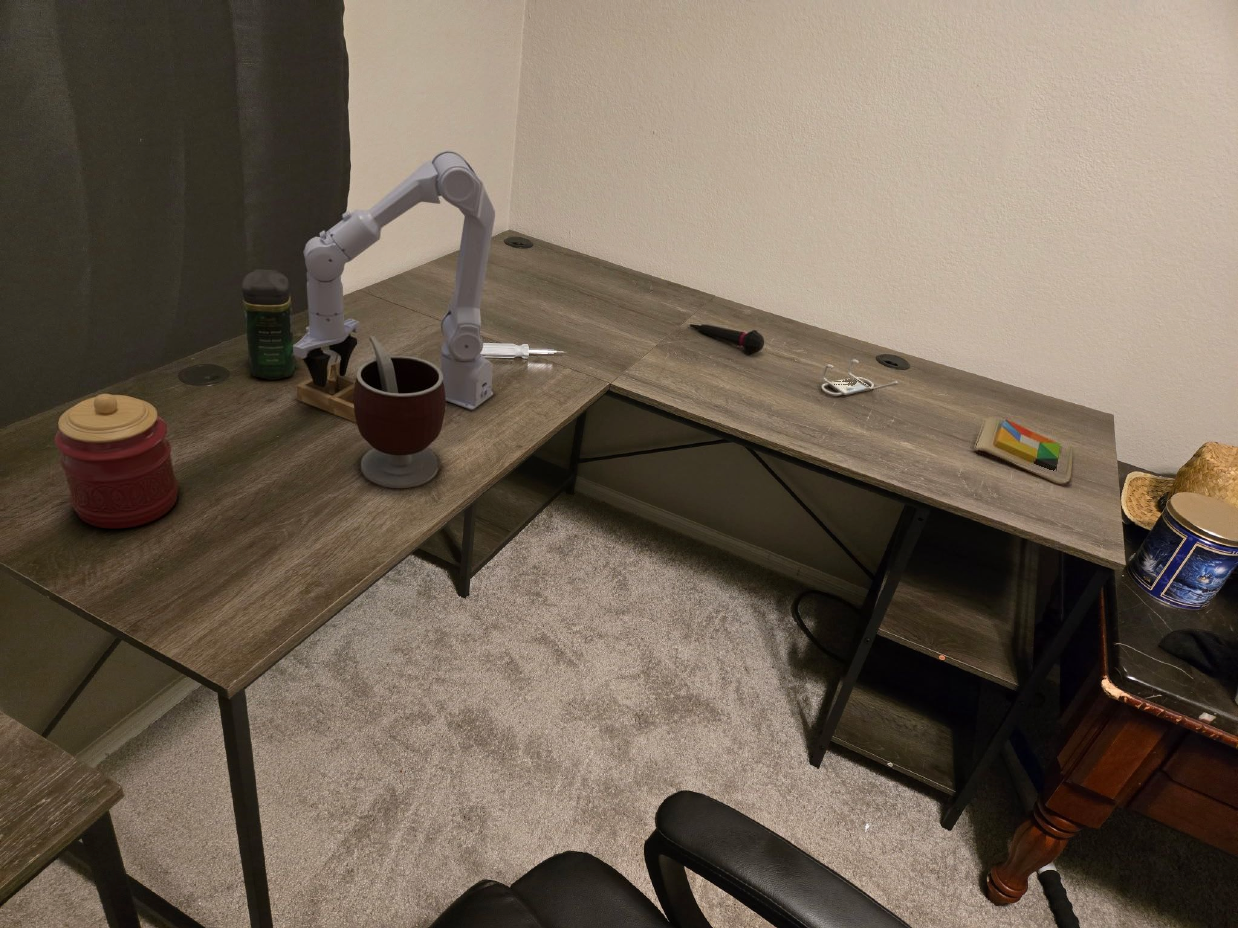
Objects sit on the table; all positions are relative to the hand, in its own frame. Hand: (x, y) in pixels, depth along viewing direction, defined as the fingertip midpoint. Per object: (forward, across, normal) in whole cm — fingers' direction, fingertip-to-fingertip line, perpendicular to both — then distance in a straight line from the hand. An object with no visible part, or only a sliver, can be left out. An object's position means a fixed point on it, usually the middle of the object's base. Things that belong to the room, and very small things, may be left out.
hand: (329, 379), depth 143 cm
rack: (+4, 0, +4) cm, 5 cm away
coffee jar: (+4, -2, -15) cm, 16 cm away
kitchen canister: (+4, +40, -2) cm, 40 cm away
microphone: (+4, -79, +53) cm, 95 cm away
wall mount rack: (+4, -73, +86) cm, 113 cm away
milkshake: (+4, 0, 0) cm, 4 cm away
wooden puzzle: (+4, -70, +123) cm, 142 cm away
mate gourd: (+4, +10, +22) cm, 25 cm away
